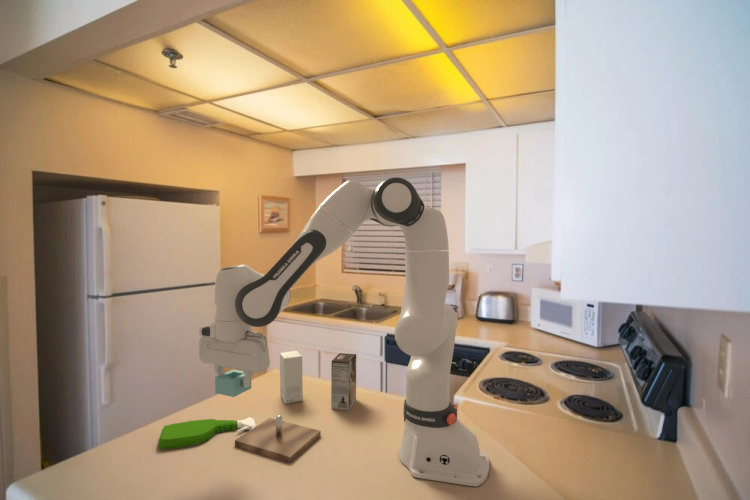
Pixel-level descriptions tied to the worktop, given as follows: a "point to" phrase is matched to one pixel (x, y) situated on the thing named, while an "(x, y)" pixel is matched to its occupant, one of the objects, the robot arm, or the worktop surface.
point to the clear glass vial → (279, 426)
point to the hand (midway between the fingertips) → (233, 384)
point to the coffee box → (343, 381)
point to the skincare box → (291, 377)
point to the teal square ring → (230, 383)
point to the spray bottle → (198, 431)
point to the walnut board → (278, 440)
